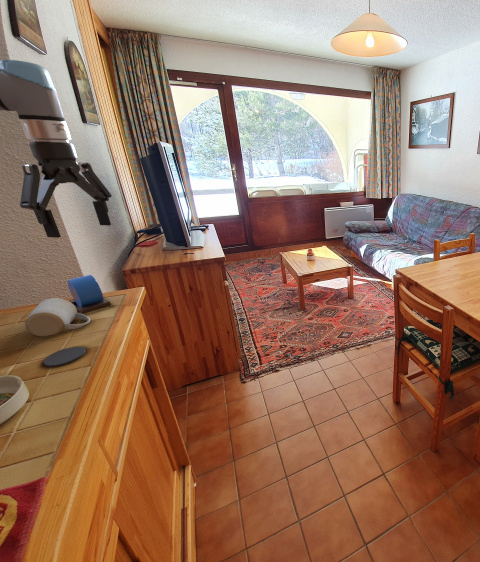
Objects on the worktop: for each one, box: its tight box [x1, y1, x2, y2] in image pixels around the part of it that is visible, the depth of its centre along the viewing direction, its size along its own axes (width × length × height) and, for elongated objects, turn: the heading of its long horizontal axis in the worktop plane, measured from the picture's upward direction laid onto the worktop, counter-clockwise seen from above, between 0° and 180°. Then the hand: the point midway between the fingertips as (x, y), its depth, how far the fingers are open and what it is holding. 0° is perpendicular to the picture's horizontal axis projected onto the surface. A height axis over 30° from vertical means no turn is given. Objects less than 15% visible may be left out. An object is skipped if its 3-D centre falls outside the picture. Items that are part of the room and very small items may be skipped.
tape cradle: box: [68, 298, 112, 314], centre depth 91 cm, size 11×7×2 cm, turn 56°
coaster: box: [43, 346, 86, 368], centre depth 69 cm, size 7×7×1 cm
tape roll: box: [67, 274, 104, 307], centre depth 90 cm, size 5×8×8 cm, turn 56°
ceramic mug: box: [25, 297, 91, 337], centre depth 79 cm, size 11×8×8 cm
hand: (82, 230), depth 80 cm, fingers open, 13 cm apart
